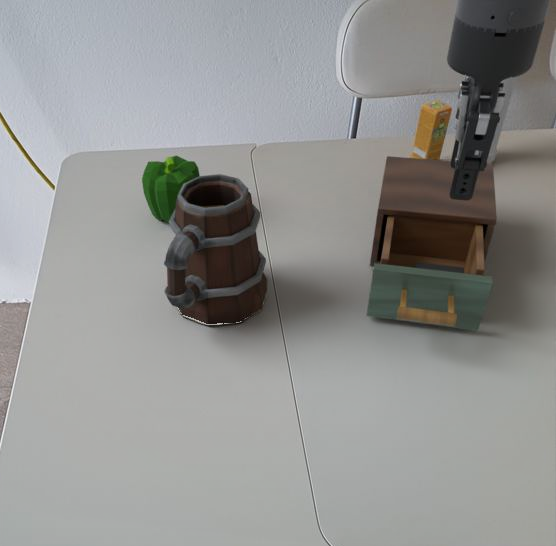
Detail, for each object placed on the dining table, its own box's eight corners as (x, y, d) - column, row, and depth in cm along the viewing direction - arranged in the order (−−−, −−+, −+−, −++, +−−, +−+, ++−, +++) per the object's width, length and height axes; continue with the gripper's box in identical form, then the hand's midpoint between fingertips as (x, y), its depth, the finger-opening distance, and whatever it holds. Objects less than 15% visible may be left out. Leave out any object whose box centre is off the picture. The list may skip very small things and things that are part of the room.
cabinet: (479, 278, 81) (497, 219, 75) (369, 265, 85) (377, 208, 79) (477, 220, 91) (493, 163, 85) (378, 210, 94) (386, 155, 88)
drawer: (478, 357, 70) (494, 310, 65) (362, 341, 73) (369, 294, 68) (476, 266, 82) (489, 219, 77) (376, 254, 85) (382, 209, 80)
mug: (203, 259, 88) (195, 157, 77) (283, 285, 83) (286, 179, 72) (135, 327, 78) (116, 221, 68) (220, 361, 73) (214, 252, 63)
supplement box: (423, 174, 101) (436, 111, 94) (408, 165, 103) (419, 103, 96) (440, 168, 102) (453, 106, 95) (424, 159, 104) (436, 98, 97)
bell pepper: (153, 200, 100) (145, 138, 93) (205, 201, 98) (201, 139, 91) (140, 230, 94) (131, 167, 87) (196, 232, 92) (191, 168, 86)
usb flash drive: (460, 282, 78) (464, 266, 76) (460, 296, 76) (464, 280, 74) (390, 274, 80) (392, 258, 78) (388, 287, 78) (391, 271, 76)
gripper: (456, -13, 63) (425, 148, 75) (455, 38, 53) (420, 215, 65) (539, -12, 61) (495, 153, 73) (554, 41, 51) (500, 222, 63)
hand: (460, 181), depth 69 cm, fingers open, 6 cm apart
